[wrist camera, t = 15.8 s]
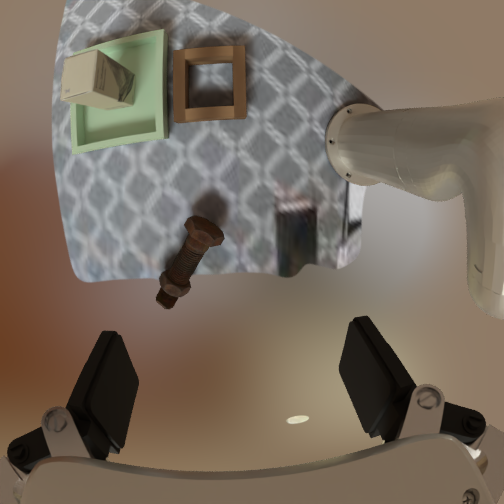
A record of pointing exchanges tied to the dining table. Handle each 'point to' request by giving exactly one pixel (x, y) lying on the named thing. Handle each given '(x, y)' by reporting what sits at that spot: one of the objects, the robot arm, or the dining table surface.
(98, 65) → the box
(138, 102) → the tray
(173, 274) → the bolt
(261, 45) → the dining table surface
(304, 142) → the dining table surface
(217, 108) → the frame
